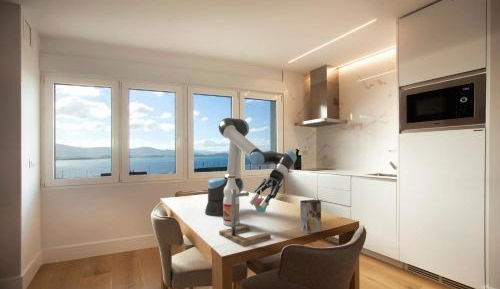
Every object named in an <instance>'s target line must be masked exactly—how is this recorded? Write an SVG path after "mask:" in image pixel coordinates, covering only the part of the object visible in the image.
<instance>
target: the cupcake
mask: <svg viewBox="0 0 500 289" xmlns="http://www.w3.org/2000/svg"><path fill="white" fill-rule="evenodd" d="M262 193H263V192H262V190H260V195H259V197H260V198H257V199H255V200H254V202H253V204H254V205H253V206H254V207H255V211H256V213H265V212H266V210H267V208H268V206H269V205H270V201H269V202H268V203H267V204H266V206H265V207H264V209H263V208H262V207H261V206H260V204H261V203H262V201H263V200H264V198H265V197H263V196H262Z"/></svg>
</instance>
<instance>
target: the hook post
mask: <svg viewBox="0 0 500 289" xmlns="http://www.w3.org/2000/svg"><path fill="white" fill-rule="evenodd" d="M249 196H250V193H249V191H245V192H240V193H237V194H236V189H232V226H231V228H232V236H235V235H236V234H237V233H236V227H237V225H236V197H239V198H240V197H249Z"/></svg>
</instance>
